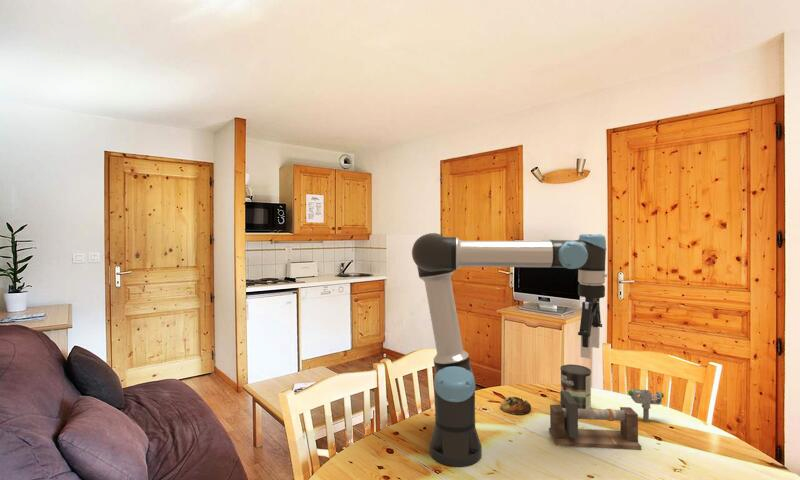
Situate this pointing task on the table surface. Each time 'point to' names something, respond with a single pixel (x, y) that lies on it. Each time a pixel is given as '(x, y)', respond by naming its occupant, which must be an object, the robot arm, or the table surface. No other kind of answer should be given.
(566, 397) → the dark grey square plate
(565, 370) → the coffee can
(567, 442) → the pipe rig
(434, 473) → the table surface
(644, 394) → the mechanical component
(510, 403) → the bread roll
